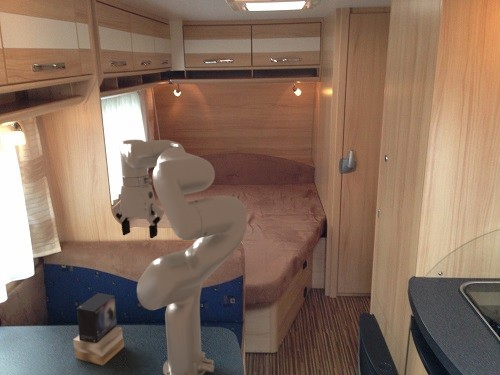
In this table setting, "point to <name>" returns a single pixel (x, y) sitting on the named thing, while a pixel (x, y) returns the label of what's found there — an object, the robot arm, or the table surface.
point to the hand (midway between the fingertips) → (139, 235)
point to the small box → (96, 317)
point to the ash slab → (99, 343)
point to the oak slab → (100, 359)
